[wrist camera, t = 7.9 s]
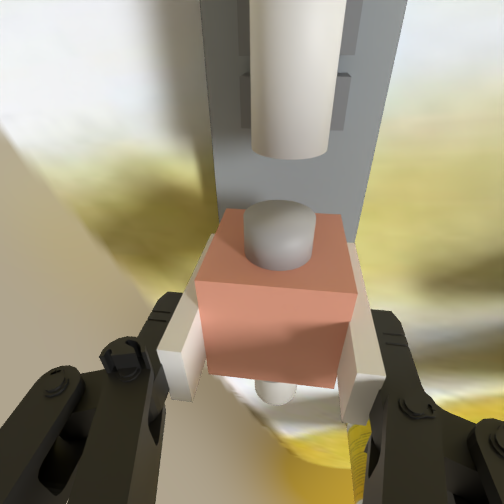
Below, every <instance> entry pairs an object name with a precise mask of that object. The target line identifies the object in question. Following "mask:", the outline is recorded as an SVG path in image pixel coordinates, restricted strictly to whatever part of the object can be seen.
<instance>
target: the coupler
mask: <svg viewBox="0 0 504 504" xmlns="http://www.w3.org/2000/svg"><path fill="white" fill-rule="evenodd" d="M194 281H195V288H196V294H197V301H198V307H199V314H200V320H201V326H202V333H203V339H204V346H205V352H206V359H207V366H208V372H209V374H213V375H221V376H230V377H238V378H247V379H255V380H262V381H264V382H268V383H289V384H297V385H306V386H314V387H323V388H331V389H334V386H335V382H336V378H337V370H338V366H339V362H340V357H341V353H342V349H343V345H344V341H345V337H346V333H347V329H348V325H349V322H351V319H352V315H353V311H354V307H355V303H356V299H357V295H358V292H357V288H356V283H355V278H354V274H353V269H352V264H351V260H350V255H349V250H348V246H347V241H346V236H345V232H344V227H343V222H342V218H341V214H322V213H314V212H313V210H312V209H310V208H309V207H307V206H305V205H303V204H301V203H298V202H294V201H288V200H267V201H262V202H258V203H256V204H253V205H251V206H250V207H248V208H247V209H229V208H226V210H225V213H224V215H223V217H222V219H221V222H220V224H219V226H218V228H217V231H216V233H215V235H214V237H213V240H212V242H211V244H210V246H209V249H208V251H207V253H206V255H205V258H204V260H203V262H202V264H201V267H200V269H199V271H198V273H197V276H196V278H195V280H194Z"/></svg>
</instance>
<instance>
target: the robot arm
mask: <svg viewBox="0 0 504 504" xmlns="http://www.w3.org/2000/svg"><path fill="white" fill-rule="evenodd" d="M214 235H215V234H211V235H210V237H209V240H208V242H207V244H206V246H205V248H204V250H203V252H202V254H201V257H200V259H199V261H198V263H197V265H196V267H195V269H194V271H193V273H192V276H191V278H190V280H189V282H188V284H187V286H186V288H185V290H184V292H183V293H177V292H167V293H166V294H164V295H163V296H162V297H161V298H160V299H159V300H158V301H157V303H156V305H155V306H154V308H153V310H152V312H151V314H150V316H149V317H148V320H147V321H146V323H145V324H144V326H143V328H142V330H141V332H140V333H139V336H138V337H128V336H127V337H122V338H118V339H117V340H115V341H113V342H111V343H109V344H108V345H107V346H106V347H105V348H104V349H103V350H102V352H101V354H100V356H99V358H100V360H101V362H102V364H103V366H104V368H105V369H103V370H99V371H93V372H88V373H82V374H80V372H79V371H78V370H77V369H76V368H75V367H72V366H70V365H69V366H60V367H57V368H54V369H51V370H50V371H48V372H47V373H45V374H44V375H43V376H41V377H40V379H38V380H37V382H36V383H35V384H34V385H33V387H32V388H31V389H30V390H29V392H28V393H27V394H26V396H25V397H24V398H23V400H22V401H21V402H20V404H19V405H18V406H17V407H16V409H15V410H14V411H13V413H12V414H11V415H10V417H9V418H8V419H7V421H6V422H5V423H4V425H3V426H2V427H1V428H0V504H66V503H67V501H68V503H67V504H155V501H156V493H157V484H158V476H159V467H160V458H161V450H162V441H163V432H164V424H165V415H166V409H165V400H166V398H167V395H168V392H169V393H170V396H171V399H172V400H180V401H187V402H193V399H194V396H195V393H196V389H197V386H198V383H199V380H200V376H201V373H202V370H203V367H204V363H205V360H206V352H205V346H204V339H203V333H202V326H201V320H200V314H199V307H198V301H197V294H196V288H195V281H194V280H195V278H196V276H197V273H198V271H199V269H200V267H201V264H202V262H203V260H204V258H205V255H206V253H207V251H208V249H209V246H210V244H211V242H212V240H213V237H214ZM347 246H348V250H349V255H350V260H351V264H352V269H353V274H354V278H355V283H356V288H357V292H358V295H357V299H356V303H355V307H354V311H353V315H352V319H351V322H349V325H348V329H347V333H346V337H345V341H344V345H343V349H342V353H341V357H340V362H339V366H338V370H337V378H338V389H339V399H340V410H341V421H342V423H349V424H356V425H364V426H366V424H367V422H368V419H370V425H371V431H372V433H371V435H370V437H369V440H368V442H367V444H366V447H365V450H364V452H365V453H367V462H366V472H365V482H364V493H363V503H362V504H504V421H500V420H497V419H493V418H492V419H483V420H481V421H480V422H478V423H477V424H475V423H473V422H470V421H468V420H466V419H463V418H461V417H458V416H456V415H453V414H451V413H449V412H447V411H445V410H443V409H442V408H440V407H439V406H438V405H436V403H435V402H434V401H433V399H432V398H431V397H430V396H429V395H428V394H426V393H425V391H424V389H423V387H422V385H421V382H420V379H419V376H418V373H417V370H416V367H415V364H414V361H413V358H412V355H411V352H410V349H409V347H408V343H407V340H406V337H405V334H404V331H403V328H402V325H401V322H400V321H399V320H398V319H397V317H396V316H395V315H394V314H393V313H392V311H384V310H373V309H370V305H369V301H368V297H367V293H366V289H365V284H364V280H363V276H362V272H361V267H360V263H359V259H358V255H357V250H356V246H355V243H347ZM68 499H69V500H68Z"/></svg>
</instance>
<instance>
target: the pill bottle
mask: <svg viewBox="0 0 504 504" xmlns="http://www.w3.org/2000/svg"><path fill="white" fill-rule="evenodd" d="M346 424H347V434H348V444H349V453H350V462H351V471H352V480H353V491H354V501H355V504H362V503H363V493H364V482H365V472H366V462H367V453H365V452H364V450H365V447H366V444H367V442H368V440H369V437H370V435H371V433H372V431H371V425H370V419H368V422H367V424H366V426H364V425H356V424H349V423H346Z"/></svg>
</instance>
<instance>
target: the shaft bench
mask: <svg viewBox="0 0 504 504" xmlns="http://www.w3.org/2000/svg"><path fill="white" fill-rule="evenodd" d="M406 5H407V0H200V8H201V20H202V31H203V43H204V54H205V66H206V77H207V89H208V100H209V112H210V123H211V135H212V146H213V157H214V169H215V180H216V192H217V203H218V215H219V224H220V222H221V219H222V217H223V215H224V213H225V210H226V208H229V209H247V208H248V207H250V206H251V205H253V204H256V203H258V202H262V201H267V200H288V201H294V202H298V203H301V204H303V205H305V206H307V207H309V208H310V209H312V210H313V212H314V213H322V214H341V218H342V222H343V227H344V232H345V236H346V241H347V243H355V238H356V234H357V229H358V224H359V220H360V215H361V211H362V206H363V202H364V197H365V192H366V188H367V183H368V179H369V174H370V170H371V165H372V160H373V156H374V151H375V147H376V142H377V138H378V133H379V128H380V124H381V119H382V115H383V110H384V106H385V101H386V96H387V92H388V87H389V83H390V78H391V74H392V69H393V64H394V60H395V55H396V51H397V46H398V42H399V37H400V32H401V28H402V23H403V19H404V14H405V10H406ZM296 388H297V384H289V383H268V382H264V381H262V380H255V390H256V393H257V395H258V396H259V397H260V398H261V399H262V400H263V401H264V402H266V403H268V404H270V405H283V404H286V403H288V402H289V401H290V400H291V399H292V398H293V397H294V395H295V393H296Z"/></svg>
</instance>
